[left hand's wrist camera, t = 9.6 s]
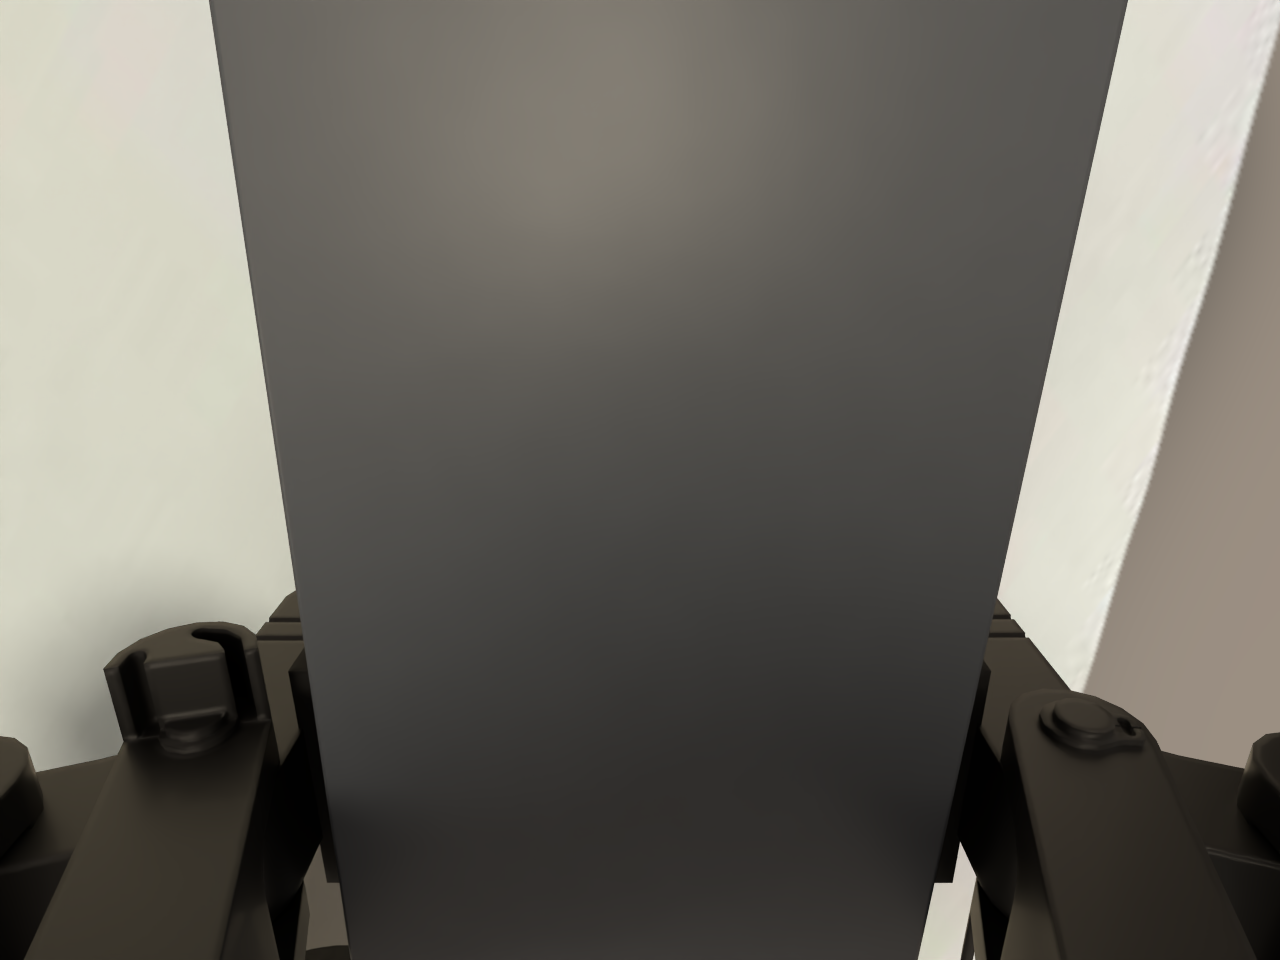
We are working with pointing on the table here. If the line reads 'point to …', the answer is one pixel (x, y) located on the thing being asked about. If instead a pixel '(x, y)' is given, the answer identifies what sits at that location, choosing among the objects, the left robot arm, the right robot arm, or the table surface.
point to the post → (652, 442)
